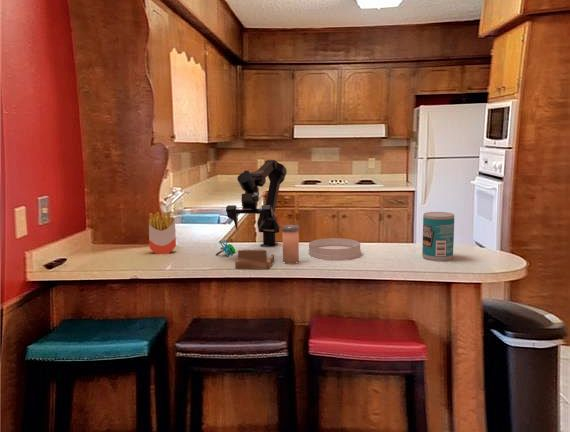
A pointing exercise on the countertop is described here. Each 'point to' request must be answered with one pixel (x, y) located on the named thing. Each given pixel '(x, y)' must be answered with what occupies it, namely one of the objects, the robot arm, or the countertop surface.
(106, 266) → the countertop surface
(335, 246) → the dish
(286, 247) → the jar
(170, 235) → the french fries container
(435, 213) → the food can
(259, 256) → the brown wooden frame
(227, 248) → the stick construction toy
